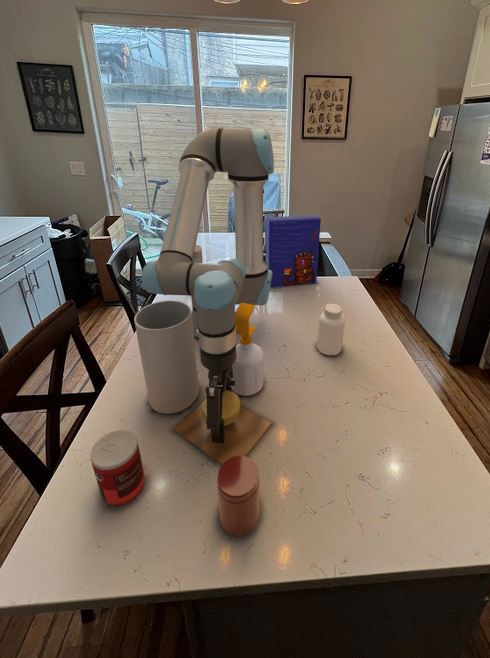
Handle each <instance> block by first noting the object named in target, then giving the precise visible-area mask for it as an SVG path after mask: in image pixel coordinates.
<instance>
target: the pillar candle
mask: <svg viewBox="0 0 490 658" xmlns="http://www.w3.org/2000/svg"><path fill="white" fill-rule="evenodd" d="M203 261H204V260H203V250H202V246H201V245H198V244H196V245H195V250H194V255H193V259H192V263H204V262H203Z"/></svg>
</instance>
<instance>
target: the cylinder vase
mask: <svg viewBox="0 0 490 658" xmlns="http://www.w3.org/2000/svg"><path fill="white" fill-rule="evenodd" d="M136 313H137V314H136ZM136 313H135V316H134V319H133V321H134V326H135V332H136V337H137V343H138V349H139V354H140V360H141V365H142V370H143V376H144V382H145V388H146V393H147V399H148V404H149V406H150V407H151V408H152V409H153V411H156V412H157V413H160V414H166V415H167V414H168V415H169V414H176V413H179V412H181V411H184V410H186V409H188V408H189V407H190V406H191V405H192V404H193V403H194V402H195V401H196V399H198V395H199V392H200V385H199V376H198V366H197V357H196V356H197V355H196V354H197V353H196V345H195V337H194V334H193V324H192V314H191V313H192V308H191V306H190V305H189V304H187V303H185V302H183V301H180V300H173V299H172V300H171V299H170V300H169V299H167V300H159V301H156V302H152V303H150V304H147V305H146V306H144V307H142V308H140V310H138V311H136Z"/></svg>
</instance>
